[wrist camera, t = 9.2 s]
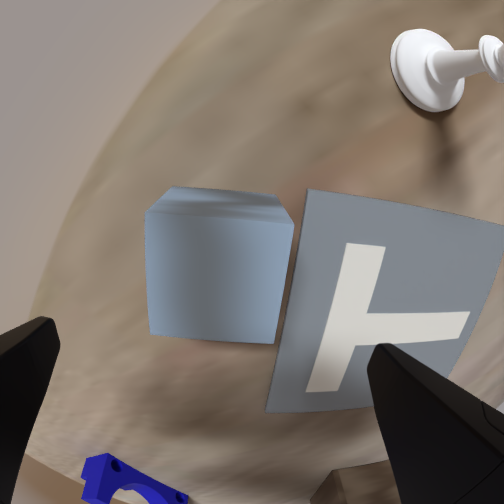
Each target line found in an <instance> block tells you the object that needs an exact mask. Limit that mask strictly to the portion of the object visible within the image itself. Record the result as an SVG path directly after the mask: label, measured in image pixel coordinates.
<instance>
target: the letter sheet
mask: <svg viewBox="0 0 504 504" xmlns="http://www.w3.org/2000/svg"><path fill="white" fill-rule="evenodd" d="M503 252H504V226H503V225H499V224H495V223H491V222H487V221H483V220H479V219H474V218H470V217H466V216H461V215H457V214H452V213H448V212H443V211H438V210H434V209H429V208H424V207H419V206H414V205H408V204H403V203H398V202H392V201H386V200H380V199H375V198H369V197H362V196H356V195H350V194H343V193H336V192H329V191H322V190H314V189H307V192H306V198H305V205H304V211H303V217H302V224H301V230H300V236H299V242H298V248H297V253H296V259H295V265H294V270H293V276H292V281H291V287H290V292H289V298H288V303H287V308H286V313H285V318H284V323H283V328H282V333H281V338H280V343H279V348H278V353H277V357H276V362H275V367H274V371H273V376H272V380H271V385H270V389H269V394H268V398H267V403H266V407H265V413H300V412H320V411H334V410H345V409H355V408H364V407H372V406H374V404H373V399H372V394H371V389H370V385H369V380H368V376H367V365H368V362H369V360H370V358H371V355H372V353H373V350H374V348H375V346H376V345H377V344H379V343H391V344H393V345H395V346H396V347H398V348H399V349H401V350H403V351H404V352H406V353H407V354H409V355H410V356H412V357H414V358H415V359H417V360H418V361H420V362H421V363H423V364H425V365H426V366H428V367H429V368H431V369H432V370H434V371H436V372H437V373H439V374H440V375H442V376H444V377H445V378H448V376H449V374H450V373H451V371H452V369H453V367H454V366H455V364H456V362H457V360H458V358H459V356H460V355H461V353H462V351H463V349H464V347H465V345H466V343H467V341H468V339H469V337H470V335H471V333H472V331H473V329H474V327H475V324H476V322H477V320H478V318H479V316H480V313H481V311H482V309H483V306H484V304H485V302H486V299H487V297H488V294H489V292H490V289H491V287H492V284H493V281H494V279H495V276H496V273H497V270H498V267H499V264H500V261H501V258H502V255H503Z"/></svg>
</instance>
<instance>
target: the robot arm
mask: <svg viewBox="0 0 504 504" xmlns="http://www.w3.org/2000/svg"><path fill="white" fill-rule="evenodd" d="M59 350H60V340H59V336H58V333H57V329H56V325H55V322H54V320H53V319H52V318H48V317H44V316H40V317H37V318H35V319H33V320H31V321H29V322H27V323H25V324H23V325H20V326H19V327H16V328H14V329H12V330H10V331H8V332H6V333H4V334H2V335H0V504H11V500H12V496H13V492H14V488H15V483H16V480H17V476H18V472H19V469H20V466H21V462H22V458H23V456H24V453H25V449H26V446H27V443H28V440H29V437H30V434H31V432H32V429H33V426H34V423H35V420H36V418H37V415H38V412H39V410H40V407H41V405H42V402H43V400H44V397H45V394H46V392H47V388H48V385H49V382H50V379H51V375H52V372H53V369H54V366H55V363H56V359H57V356H58V353H59ZM367 376H368V380H369V385H370V389H371V394H372V399H373V404H374V409H375V413H376V417H377V421H378V424H379V427H380V431H381V434H382V437H383V440H384V444H385V447H386V450H387V454H388V457H389V461H390V464H391V468H392V471H393V475H394V478H395V482H396V486H397V490H398V493H399V497H400V501H401V504H504V414H503V413H501V412H499V411H498V410H496V409H494V408H493V407H491V406H489V405H488V404H486V403H485V402H483V401H481V400H480V399H478V398H477V397H475V396H474V395H472V394H470V393H469V392H467V391H466V390H464V389H462V388H461V387H459V386H458V385H456V384H455V383H453V382H451V381H450V380H448V379H447V378H445V377H444V376H442V375H440V374H439V373H437V372H436V371H434V370H432V369H431V368H429V367H428V366H426V365H425V364H423V363H421V362H420V361H418V360H417V359H415V358H414V357H412V356H410V355H409V354H407V353H406V352H404V351H403V350H401V349H399V348H398V347H396V346H395V345H393V344H391V343H379V344H377V345H376V346H375V348H374V350H373V353H372V355H371V358H370V360H369V362H368V365H367Z"/></svg>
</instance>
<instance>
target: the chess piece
mask: <svg viewBox="0 0 504 504" xmlns="http://www.w3.org/2000/svg"><path fill="white" fill-rule="evenodd" d="M390 61H391V68H392V72H393V75H394V78H395V80H396V82H397V84H398V86H399V88H400V89H401V91H402V92H403V94H404V95H405V96H406V97H407V98H408V99H409V100H410V101H411V102H412V103H413V104H415V105H416V106H417V107H419V108H421V109H423V110H426V111H430V112H440V111H444V110H448V109H450V108H452V107H454V106H455V105H456V104H457V103H458V102H459V100H460V98H461V96H462V94H463V90H464V77H467V76H470V75H473V74H477V73H481V72H485V71H487V73H488V74H489V75H490V76H491V77H492V78H493V79H494V80H495V81H497V82H500V83H504V44H503V43H502V42H501V41H500V40H499V39H498V38H496V37H494V36H490V35H484V36H482V37H481V39H480V41H479V50H455V51H454V49H453V48H452V47H451V45H450V44H449V43H448V42H447V41H446V40H445V39H443V38H442V37H441V36H439V35H438V34H436V33H434V32H432V31H429V30H425V29H415V30H409V31H406V32H403V33H402V34H400V35H399V36H398V37H397V38H396V39H395V41H394V43H393V45H392V48H391V55H390Z"/></svg>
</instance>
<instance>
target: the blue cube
mask: <svg viewBox="0 0 504 504" xmlns="http://www.w3.org/2000/svg"><path fill="white" fill-rule="evenodd" d="M293 231H294V223H293V221H292V220H291V218H290V217H289V215H288V214H287V212H286V210H285V209H284V207H283V206H282V204H281V203H280V201H279V200H278V198H277V196H276V195H273V194H263V193H253V192H242V191H231V190H219V189H205V188H191V187H175V186H172V187H171V188H170V189H169V190H168V191H167V192H166V193H165V194H164V195H163V196H162V197H161V198H159V199H158V200H157V201H156V202H155V203H154V204H153V205H152V206H151V207H150V208H149V209H148V210H147V211H146V212H145V260H146V284H147V301H148V315H149V327H150V334H151V335H160V336H169V337H179V338H189V339H201V340H213V341H228V342H245V343H267V344H274V339H275V334H276V329H277V324H278V318H279V313H280V307H281V302H282V296H283V290H284V285H285V279H286V273H287V267H288V261H289V255H290V249H291V243H292V237H293Z"/></svg>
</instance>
